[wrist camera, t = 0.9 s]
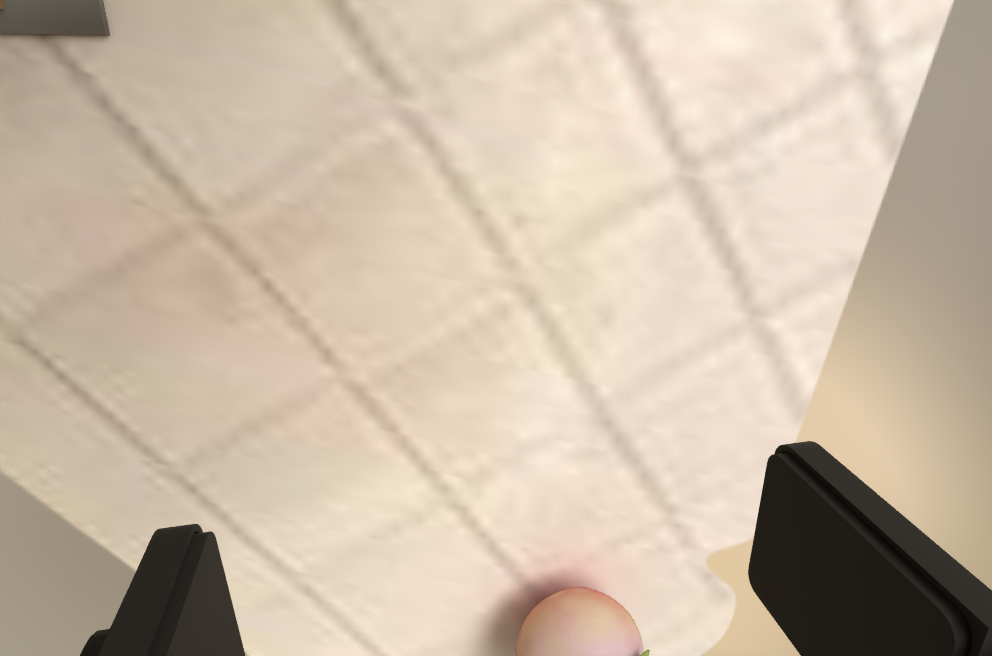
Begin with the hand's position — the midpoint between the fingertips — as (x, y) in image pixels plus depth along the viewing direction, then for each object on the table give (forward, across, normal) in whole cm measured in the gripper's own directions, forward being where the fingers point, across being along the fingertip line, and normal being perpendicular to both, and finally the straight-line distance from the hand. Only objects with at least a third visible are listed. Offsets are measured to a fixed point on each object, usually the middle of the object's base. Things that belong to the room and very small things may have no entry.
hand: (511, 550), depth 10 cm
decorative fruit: (+28, -9, +32) cm, 43 cm away
